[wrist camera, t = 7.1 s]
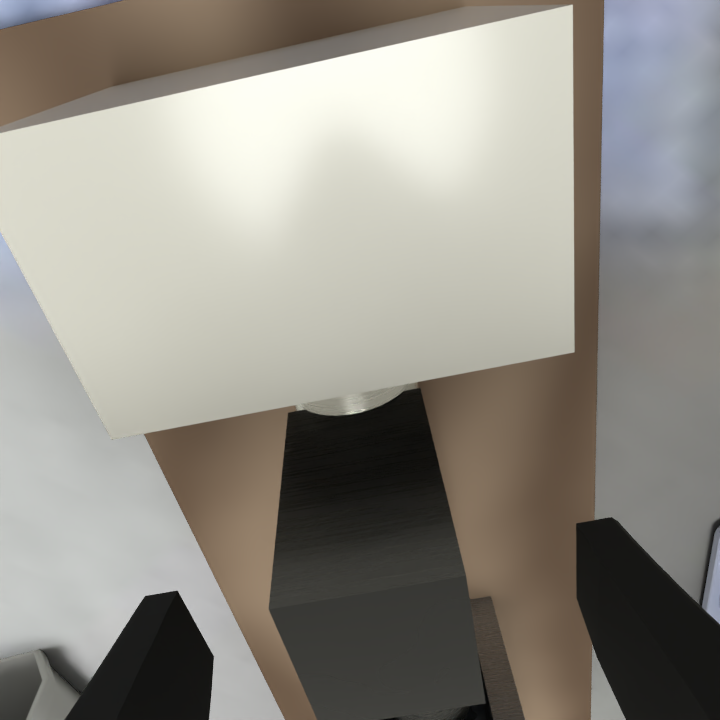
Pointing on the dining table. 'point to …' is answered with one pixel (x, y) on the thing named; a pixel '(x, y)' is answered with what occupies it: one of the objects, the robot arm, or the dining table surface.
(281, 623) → the inner tube
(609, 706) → the dining table surface
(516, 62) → the cream rectangular block
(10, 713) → the tube
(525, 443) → the base board
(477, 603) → the sleeve
